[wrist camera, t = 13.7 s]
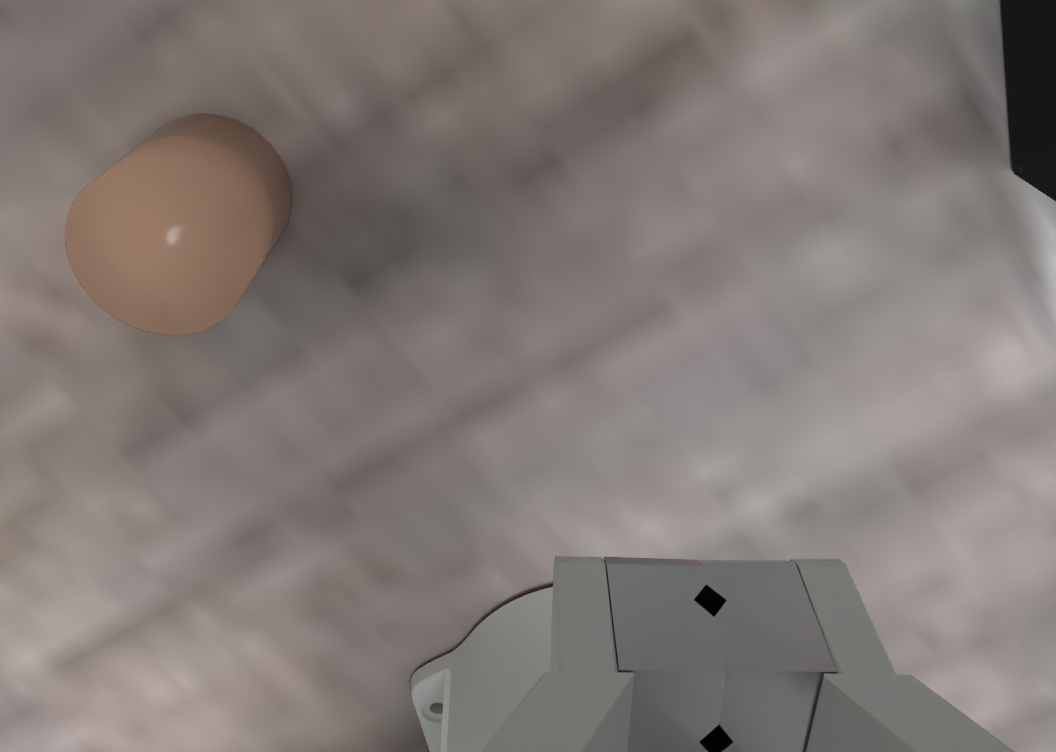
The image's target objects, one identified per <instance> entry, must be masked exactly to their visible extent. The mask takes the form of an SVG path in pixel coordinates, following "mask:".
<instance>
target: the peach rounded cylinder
mask: <svg viewBox="0 0 1056 752" xmlns="http://www.w3.org/2000/svg"><path fill="white" fill-rule="evenodd" d="M291 207H292V189H291V184H290V179H289V176H288V173H287V170H286V168H285V166H284V164H283V162H282V160H281V159H280V157H279V155H278V154H277V152H276V151H275V150H274V148H273V147H272V146H271V145H270V144H269V143H268V142H267V141H266V140H265V139H264V138H263V137H262V136H261V135H260V134H258V133H257V132H256V131H255V130H253V129H251V128H250V127H248V126H247V125H245V124H243V123H241V122H238V121H236V120H234V119H231V118H228V117H224V116H219V115H213V114H195V115H189V116H185V117H182V118H179V119H176V120H174V121H172V122H170V123H168V124H167V125H165V126H164V127H163V128H161V129H160V130H159V131H157V132H156V133H155V134H154V135H152V136H151V137H150V138H148V139H147V140H146V141H144V142H143V143H142V144H140V145H139V146H138V147H137V148H135V149H134V150H133V151H131V152H130V153H129V154H127V155H126V156H125V157H124V158H122V159H121V160H120V161H118V162H117V163H116V164H114V165H113V166H112V167H110V168H109V169H108V170H107V171H105V172H104V173H103V174H101V175H100V176H99V177H97V178H96V179H95V180H94V181H92V182H91V183H90V184H88V185H87V186H86V187H85V188H84V189H83V190H82V191H81V192H80V193H79V195H78V196H77V198H76V199H75V201H74V202H73V204H72V206H71V208H70V211H69V214H68V217H67V221H66V227H65V245H66V251H67V256H68V259H69V262H70V265H71V268H72V270H73V272H74V274H75V276H76V278H77V280H78V281H79V283H80V285H81V286H82V288H83V289H84V290H85V291H86V293H87V294H88V295H89V296H90V297H91V298H92V300H93V301H94V302H95V303H96V304H97V305H99V306H100V307H101V308H102V309H103V310H104V311H106V312H107V313H108V314H110V315H111V316H113V317H114V318H116V319H117V320H119V321H121V322H123V323H125V324H127V325H129V326H131V327H134V328H136V329H139V330H142V331H146V332H149V333H154V334H160V335H186V334H191V333H196V332H199V331H202V330H205V329H207V328H209V327H211V326H214V325H215V324H217V323H218V322H220V321H221V320H223V319H224V318H225V317H226V316H227V315H228V314H229V313H230V312H231V311H232V310H233V308H234V307H235V306H236V305H237V303H238V301H239V300H240V298H241V297H242V295H243V293H244V292H245V290H246V289H247V287H248V286H249V284H250V282H251V281H252V279H253V278H254V276H255V275H256V273H257V271H258V270H259V268H260V267H261V265H262V264H263V262H264V260H265V259H266V257H267V256H268V254H269V252H270V251H271V249H272V248H273V246H274V245H275V243H276V241H277V240H278V238H279V237H280V235H281V234H282V232H283V230H284V228H285V227H286V225H287V222H288V220H289V217H290V212H291Z"/></svg>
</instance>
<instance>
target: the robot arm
mask: <svg viewBox="0 0 1056 752" xmlns="http://www.w3.org/2000/svg"><path fill="white" fill-rule="evenodd" d="M411 697H412V701H413V704H414V707H415V710H416V713H417V716H418V719H419V721H420V724H421V727H422V730H423V733H424V736H425V739H426V742H427V745H428V748H429V751H430V752H1015V751H1013V750H1012V749H1011V748H1009V747H1008V746H1007V745H1005V744H1004V743H1003V742H1001V741H1000V740H999V739H997V738H996V737H995V736H993V735H992V734H990V733H989V732H988V731H986V730H985V729H984V728H982V727H981V726H980V725H978V724H977V723H976V722H974V721H973V720H972V719H970V718H969V717H967V716H966V715H965V714H963V713H962V712H961V711H959V710H958V709H957V708H955V707H954V706H953V705H951V704H950V703H949V702H947V701H946V700H944V699H943V698H942V697H940V696H939V695H938V694H936V693H935V692H934V691H932V690H931V689H930V688H928V687H927V686H926V685H924V684H923V683H921V682H920V681H919V680H917V679H916V678H915V677H913V676H912V675H896V673H895V670H894V668H893V666H892V664H891V662H890V660H889V657H888V655H887V653H886V651H885V649H884V647H883V644H882V642H881V640H880V638H879V636H878V634H877V631H876V629H875V627H874V625H873V623H872V621H871V618H870V616H869V614H868V612H867V610H866V608H865V605H864V603H863V601H862V599H861V597H860V595H859V592H858V590H857V588H856V586H855V584H854V581H853V579H852V577H851V575H850V573H849V571H848V568H847V566H846V564H844V563H843V562H842V561H841V560H839V559H791V560H790V561H787V560H686V559H655V558H623V557H604V559H602V558H601V557H565V556H555V561H554V572H553V587H550V588H546V589H542V590H539V591H536V592H533V593H530V594H527V595H525V596H522V597H520V598H518V599H516V600H513V601H511V602H510V603H508V604H506V605H504V606H502V607H501V608H499V609H498V610H496V611H495V612H493V613H492V614H491V615H489V616H488V617H487V618H486V619H485V620H483V621H482V622H481V623H480V624H479V625H478V626H477V627H476V628H475V629H474V630H473V632H472V633H471V634H470V635H469V636H468V637H467V638H466V639H465V641H464V642H463V643H462V644H461V645H460V646H459V647H458V648H456V649H455V650H454V651H453V652H451V653H448V654H446V655H444V656H442V657H440V658H438V659H436V660H433V661H431V662H430V663H428V664H426V665H424V666H423V667H421V668H419V669H418V670H417V671H416V672H415V673H414V674H413V676H412V679H411Z"/></svg>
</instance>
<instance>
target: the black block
mask: <svg viewBox="0 0 1056 752" xmlns="http://www.w3.org/2000/svg"><path fill="white" fill-rule="evenodd" d="M1001 5H1002V20H1003V35H1004V51H1005V66H1006V81H1007V97H1008V112H1009V127H1010V143H1011V155H1012V169H1013V172H1014V174H1015V175H1017V176H1019V177H1020V178H1022V179H1023V180H1025V181H1026V182H1028V183H1029V184H1031V185H1032V186H1034V187H1035V188H1037V189H1038V190H1040V191H1041V192H1043V193H1044V194H1046V195H1047V196H1049V197H1050V198H1052V199H1053V200H1055V201H1056V0H1001Z"/></svg>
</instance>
